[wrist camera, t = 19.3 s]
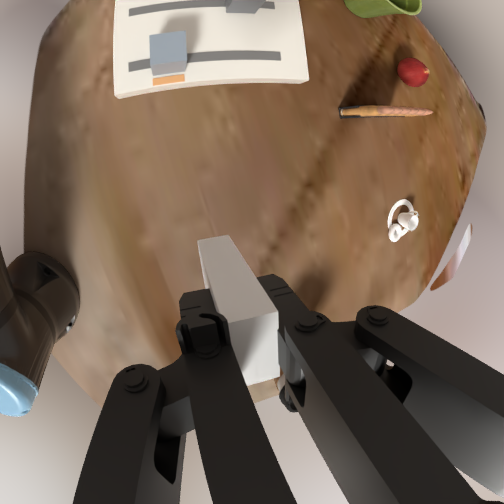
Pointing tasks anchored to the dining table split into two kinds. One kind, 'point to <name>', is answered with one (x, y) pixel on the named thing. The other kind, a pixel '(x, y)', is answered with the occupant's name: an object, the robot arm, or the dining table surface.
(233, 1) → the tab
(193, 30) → the switch panel
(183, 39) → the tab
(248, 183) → the dining table surface
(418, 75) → the onion
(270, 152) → the dining table surface
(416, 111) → the ammunition clip
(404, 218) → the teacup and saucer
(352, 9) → the plant pot
